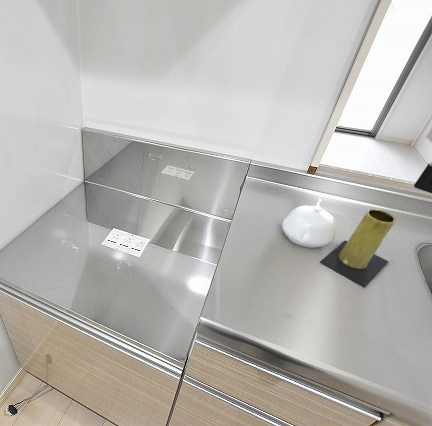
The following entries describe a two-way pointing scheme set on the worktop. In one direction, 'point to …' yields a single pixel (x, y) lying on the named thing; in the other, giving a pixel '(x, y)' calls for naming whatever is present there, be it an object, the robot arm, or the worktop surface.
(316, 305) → the worktop surface
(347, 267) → the mat
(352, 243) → the vase
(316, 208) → the white garlic bulb
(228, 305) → the worktop surface
